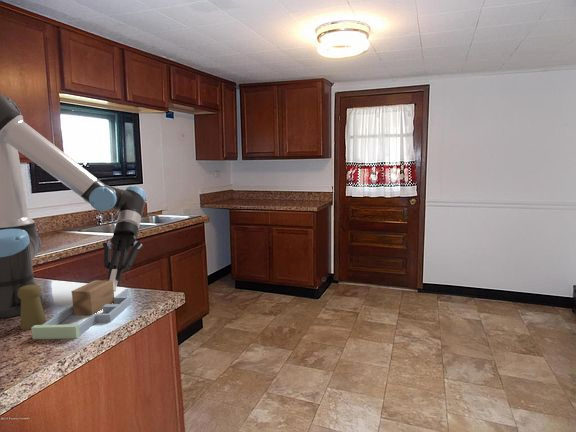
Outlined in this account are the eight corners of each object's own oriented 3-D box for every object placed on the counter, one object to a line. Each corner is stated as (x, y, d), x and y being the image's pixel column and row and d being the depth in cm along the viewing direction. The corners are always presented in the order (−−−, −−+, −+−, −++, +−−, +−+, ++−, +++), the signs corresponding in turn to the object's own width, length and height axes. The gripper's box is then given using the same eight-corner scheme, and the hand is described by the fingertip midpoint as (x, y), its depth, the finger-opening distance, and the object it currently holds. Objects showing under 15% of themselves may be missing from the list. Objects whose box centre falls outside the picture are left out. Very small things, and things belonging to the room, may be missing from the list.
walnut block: (74, 314, 110) (71, 291, 109) (97, 301, 120) (95, 280, 119) (92, 315, 109) (90, 292, 108) (114, 302, 119) (112, 280, 118)
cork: (33, 330, 100) (28, 290, 99) (14, 329, 102) (8, 289, 100) (52, 320, 106) (47, 282, 105) (33, 319, 108) (28, 281, 106)
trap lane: (32, 339, 95) (31, 327, 95) (95, 295, 126) (94, 286, 125) (92, 338, 95) (91, 326, 95) (141, 294, 125) (140, 285, 125)
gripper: (149, 231, 137) (136, 294, 123) (112, 232, 137) (95, 295, 123) (142, 219, 130) (127, 284, 117) (104, 220, 130) (85, 285, 117)
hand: (111, 289), depth 120 cm, fingers closed
